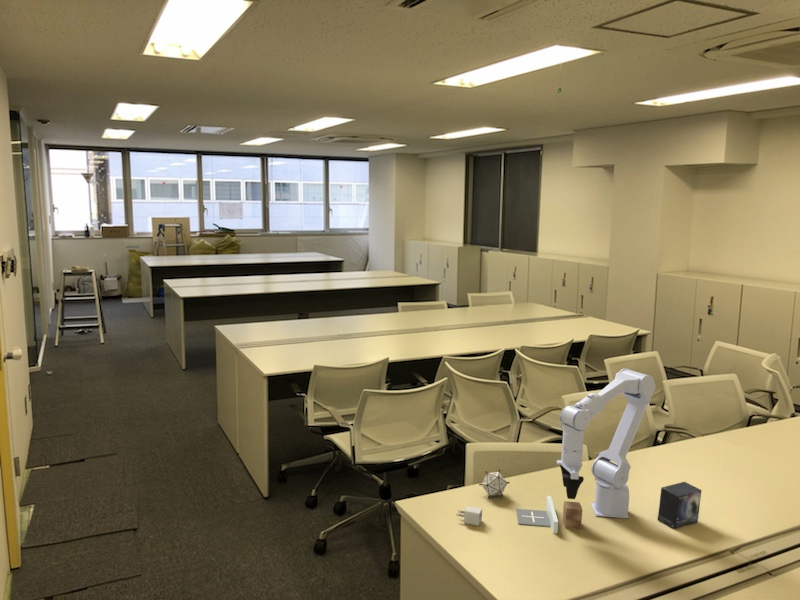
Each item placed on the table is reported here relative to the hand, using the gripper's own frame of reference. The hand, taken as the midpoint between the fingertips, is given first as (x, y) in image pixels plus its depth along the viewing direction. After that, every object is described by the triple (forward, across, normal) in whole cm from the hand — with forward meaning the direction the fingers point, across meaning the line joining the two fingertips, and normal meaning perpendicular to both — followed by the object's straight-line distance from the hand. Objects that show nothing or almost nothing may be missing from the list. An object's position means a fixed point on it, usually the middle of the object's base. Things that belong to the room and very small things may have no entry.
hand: (569, 492), depth 180 cm
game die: (+10, -14, -21) cm, 27 cm away
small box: (+10, -7, +33) cm, 35 cm away
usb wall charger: (+10, +4, -29) cm, 31 cm away
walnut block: (+10, +1, +1) cm, 10 cm away
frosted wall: (+9, -1, -4) cm, 10 cm away
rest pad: (+9, -1, -10) cm, 14 cm away
